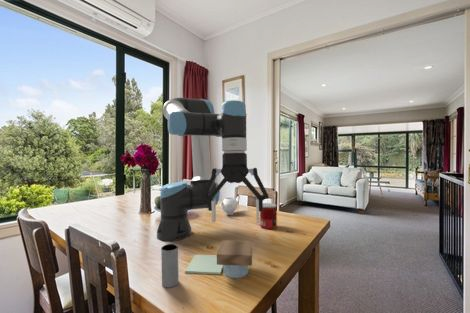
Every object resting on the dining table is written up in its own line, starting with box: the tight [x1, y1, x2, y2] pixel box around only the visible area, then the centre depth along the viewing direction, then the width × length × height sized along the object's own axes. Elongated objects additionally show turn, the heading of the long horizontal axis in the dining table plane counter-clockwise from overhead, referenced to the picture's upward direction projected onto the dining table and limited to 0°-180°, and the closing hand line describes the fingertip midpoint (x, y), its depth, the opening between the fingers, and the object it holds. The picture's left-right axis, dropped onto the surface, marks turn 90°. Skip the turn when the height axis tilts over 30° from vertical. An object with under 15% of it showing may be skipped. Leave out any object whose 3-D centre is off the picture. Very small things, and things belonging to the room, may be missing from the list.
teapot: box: [218, 195, 241, 215], centre depth 133 cm, size 10×20×9 cm, turn 144°
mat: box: [184, 254, 223, 275], centre depth 72 cm, size 11×11×1 cm
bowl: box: [222, 265, 249, 279], centre depth 68 cm, size 8×8×4 cm
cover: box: [216, 240, 253, 267], centre depth 68 cm, size 10×10×3 cm
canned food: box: [259, 202, 278, 230], centre depth 108 cm, size 8×8×11 cm
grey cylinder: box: [160, 243, 180, 288], centre depth 62 cm, size 4×4×10 cm
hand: (235, 221), depth 67 cm, fingers open, 13 cm apart
